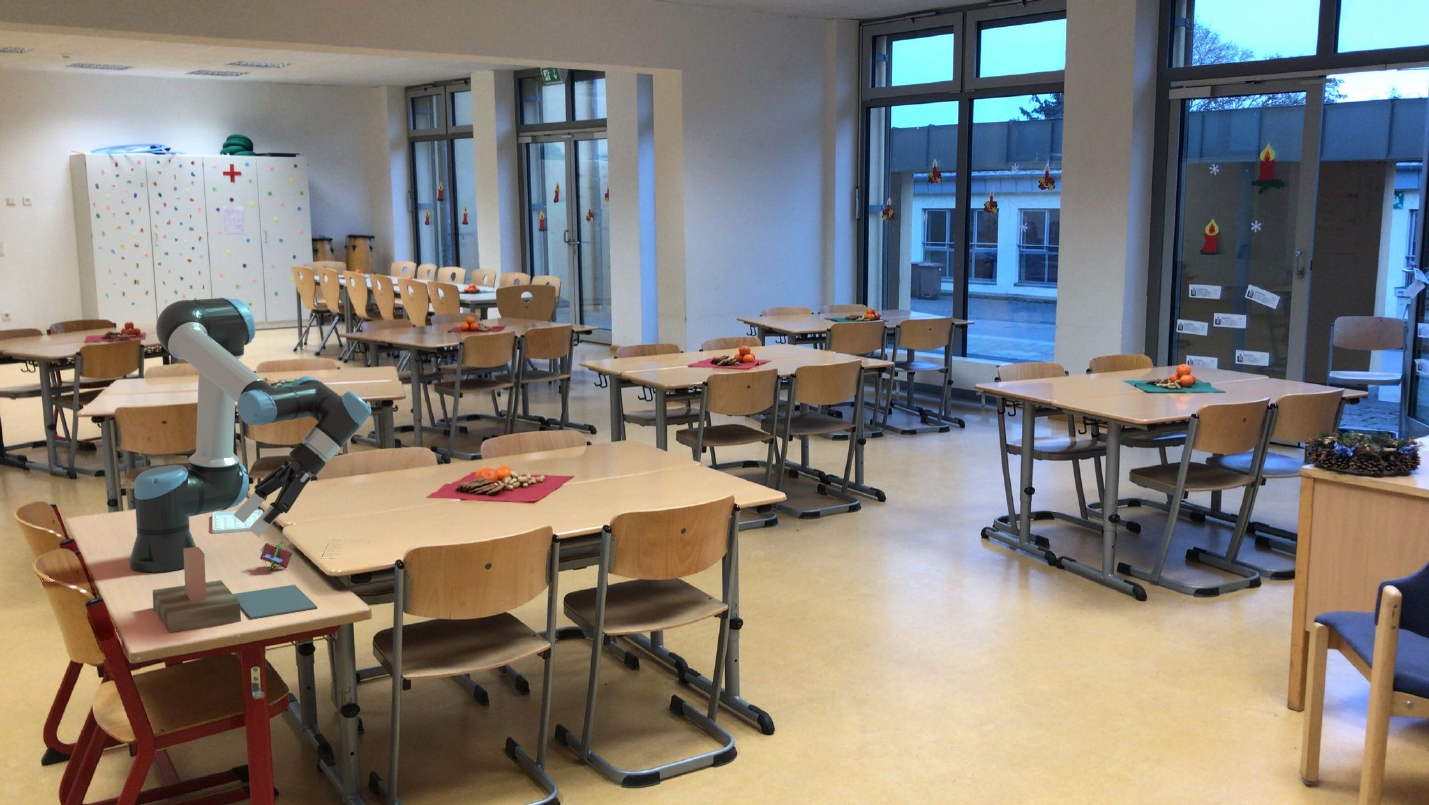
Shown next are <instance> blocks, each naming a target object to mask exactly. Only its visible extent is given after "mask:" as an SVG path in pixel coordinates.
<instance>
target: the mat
mask: <svg viewBox="0 0 1429 805" xmlns="http://www.w3.org/2000/svg"><path fill="white" fill-rule="evenodd" d="M232 594H233V595H234V596H235V597H236V598H237V600H238V601H239V602H240V609H241V610H242V611H243V612H244V614H246V616H247V617H248V618H249V619H250V620H255V619H261V618H266V617H275V616H279V615H280V616H281V615H287V614H292V613H299V612H304V611H310V610H316V609H318V605H316V604H315V602H313V601H312V600H311V599H310V598H309V596H307V595H306V594H305V593H304V592H303V591H302V590H301V589H300V588H299V587H298V586H297V585H296V584H290V585H282V586H277V587H271V588H270V587H269V588H265V589H256V590H251V591H243V592H237V593H232Z"/></svg>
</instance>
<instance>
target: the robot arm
mask: <svg viewBox="0 0 1429 805" xmlns="http://www.w3.org/2000/svg"><path fill="white" fill-rule="evenodd" d="M155 327H156V328H155V330H156V337H157V338H158V341H159V343H160V345H161V346H162V347H163V348H164V349H165V351H166V352H167V353H168V354H170V355H172V356H173V358H175V359H178V360H184V361H186V362H187V363H188V364H189V365H190V366H192V367H193V368H194V369H195V370H197V371H198V379H197V380H198V381H197V383H198V384H197V385H198V387H197V409H196V410H197V411H196V412H197V414H196V415H197V417H196V441H195V442H196V443H195V444H196V445H195V446H196V447H195V452H194V453H193V454H191V456H189V458H188V461H189V462H188V469H187V468H186V466H184V465H180V464H170V465H169V464H168V465H166V466H165V465H161V466H156V467H152V468H150V469H147V470H144V471H142V472H140V473H139V474H138V475H137V476H136V478H135V480H134V492H133V497H134V501H135V502H134V503H135V504H134V505H135V519H136V520H135V521H136V523H135V524H136V537H135V541H134V544H133V547H132V550H131V554H130V557H129V558H130V559H129V561H130V562H129V564H130V568H131V569H132V570H134V571H138V572H143V573H144V572H145V573H163V572H172V571H177V570H183V569H184V551H183V549H185V548H192V547H197V545H196V543H195V541H194V538H193V536H192V533H191V528H190V517H194V516H199V515H203V514H204V515H205V514H210V513H214V512H224V511H227V510H228V509H231V508H234V507H237V506H239V505H240V504H241V503H242V502H243V501H244V500H245V498H246V496H247V494H248V490H249V485H250V484H249V482H250V480H249V475H248V474H247V472H248V471H247V469H246V467H245V466H244V465H243V464H242V463H241V462H240V458H239V457H238V456H237V455H236V454H235V453H234V444H235V443H234V442H235V441H234V440H235V438H234V436H235V417H236V416H235V415H236V414H235V413H236V407H237V412H238V415H239V416H240V419H241V420H242V421H243V423H245V424H246V425H249V426H257V425H258V426H259V425H260V426H263V425H265V426H266V425H269V424H273V423H280V422H286V421H293V420H298V419H299V420H300V419H305V418H307V419H308V418H312V419H314V420H316V421H317V423H316V424H315V425H314V426H313V427H312V428H311V429H310V430H309V431H308V432H307V433H306V434H305V435H304V436H303V437H302V442H299V443H298V444H296V445H295V447H293V448H292V450H291V451H290V452H289V456H290V457H291V458H292V459H293V460H292V461H291V462H290V460H288V459H286V460H284V461H283V462H282V463H281V464H280V465H279V466H278V467H277V468H275V470H273V471H272V472H270V473H269V474H268V475H267V476H265V477H264V478H263V479H262V480H260V481H259V482H258V483H257V484H256V485H254V487H253V488H254V491H253V493H252V494H251V495H250V497H248V499H247V500H246V501H244V503H243V504H242V505H241V506H240V507H239V508H238V509H237V510H235V511H236V513H235V514H234V516H235V517H236V518H238V519H239V520H240V521H242V522H243V523H244V522H245V521H246V520H247V519H248V517H249V516H250V515H251V514H252V513H253V512H254V511H255V510H256V509H258V508H259V507H260V506H261V505H262V503H263V502H264V501H267V499H268V496H270V495H271V494H273V493H274V492H276V491H278V489H280V488H281V489H280V490H279V492H278V494H277V496H276V498H275V500H274V501H272V502H270V503H269V506H268V507H267V508H265V509H266V510H264V511H263V514H262V515H261V516H260V517H259V518H258V519H257V520H256V521H255V522H254V523H253V525H252V526H251V527H250V528H249V530H250V531H249V532H252V534H254V535H255V536H256V537H258V538H260V537H261V536H263V535H262V534H264V533H265V531H266V530H268V528H270V526H271V525H272V524H273V523H274V522H275V521H276V519H277V518H279V516H280V515H282V514H283V513H284V514H288V513H289V511H290V510H291V508H292V507H293V506H294V503H295V502H296V500H297V499H298V498H299V496H300V494H301V493H302V491H303V490H304V488H305V486H306V485H307V484H308V483H309V482H310V481H311V479H312V477H311V476H310V475H309V473H310V474H311V475H314V476H317V475H318V473H320V472H321V471H322V469H324V468H325V466H326V464H327V462H326V461H330V460H331V459H332V458H333V457H334V456H338V455H339V452H338V451H339V450H341V449H342V448H343V446H344V445H345V444H346V443H347V441H348V440H350V439H351V437H352V436H353V435H355V433H356V432H357V431H358V430H360V428H362V426H363V425H364V424H365V423H366V422H367V420H368V419H369V417H370V416H371V414H372V408H371V407H370V406H369V405H368V404H367V402H366V401H365V400H363V399H362V398H361V397H360V396H359V395H357V394H356V393H354V392H353V391H350V390H348V391H346V392H345V393H344V394H342V395H339V394H338V393H337V392H335V391H334V390H332V389H331V388H330V387H329V386H327V385H326V384H325V383H324V382H322V381H319V380H318V379H316V378H315V377H313V376H310V375H309V376H308V375H306V376H305V375H304V376H301V377H300V378H298V379H296V380H295V381H294V382H292V384H291V385H290V386H281V387H274V386H273V385H271V384H270V383H268V382H267V381H266V380H265V379H263V378H262V377H260V375H258V374H257V373H256V372H255V371H253V370H252V369H251V368H249V367H248V366H247V365H246V364H245V363H243V362H242V361H240V359H241V358H242V357H243V356H244V355H245V346H248V345H249V344H251V343H252V342H253V340H254V339H255V337H256V330H257V329H256V327H257V326H256V322H255V317H254V315H253V313H252V311H251V310H250V307H248V306H247V304H246V303H245V302H244V301H243V300H241V299H238V298H228V297H226V298H225V297H215V298H201V299H200V298H199V299H183V300H182V299H181V300H177V301H175V302H173V303H171V304H169V305H167V306H166V307H164V309H163V310H162V311H161V313H160V314H159V316H158V317H157V320H156V326H155ZM236 403H237V405H236ZM243 523H242V524H243Z"/></svg>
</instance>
